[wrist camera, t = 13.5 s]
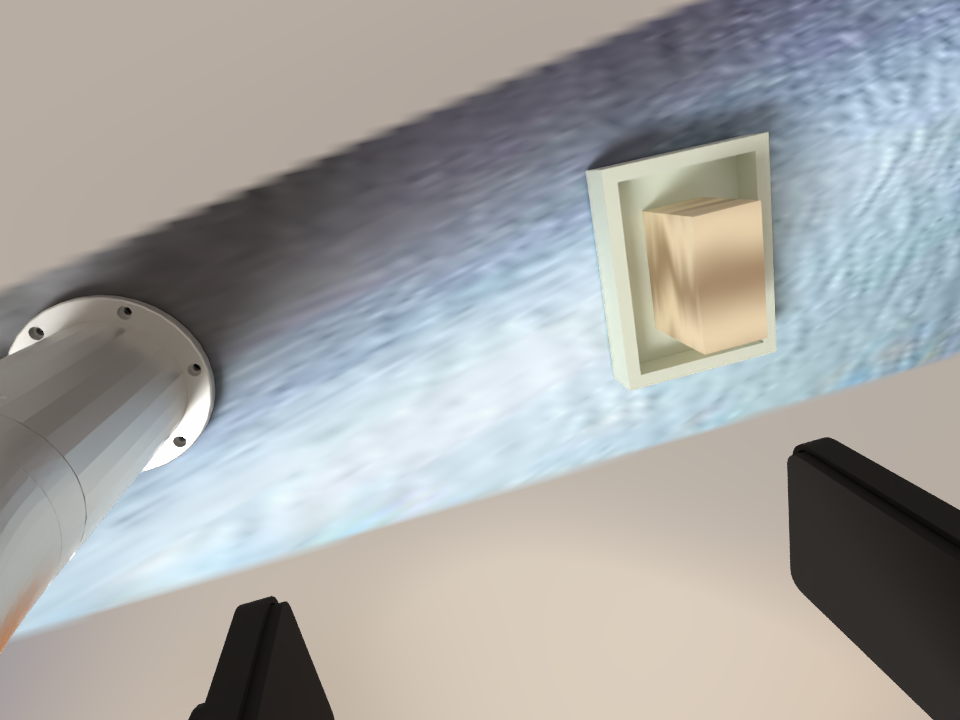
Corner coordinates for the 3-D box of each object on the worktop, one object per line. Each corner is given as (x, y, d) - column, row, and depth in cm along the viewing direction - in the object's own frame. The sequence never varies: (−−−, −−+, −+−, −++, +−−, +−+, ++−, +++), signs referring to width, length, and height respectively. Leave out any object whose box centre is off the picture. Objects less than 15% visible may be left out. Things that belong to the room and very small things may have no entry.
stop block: (642, 211, 41) (692, 217, 34) (699, 197, 41) (761, 200, 35) (655, 328, 44) (704, 354, 37) (709, 314, 44) (767, 337, 38)
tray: (614, 377, 45) (629, 390, 43) (585, 170, 40) (601, 170, 37) (752, 341, 47) (776, 351, 44) (741, 135, 41) (768, 132, 39)
